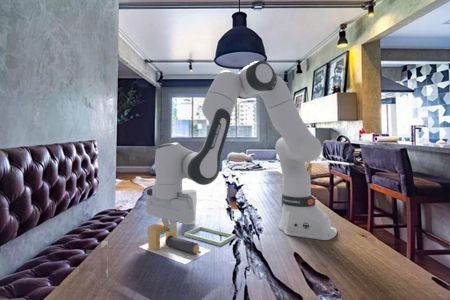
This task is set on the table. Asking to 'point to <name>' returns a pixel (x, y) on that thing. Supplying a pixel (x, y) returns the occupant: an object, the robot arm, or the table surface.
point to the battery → (182, 244)
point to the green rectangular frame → (229, 235)
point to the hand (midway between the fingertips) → (169, 232)
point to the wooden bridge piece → (158, 235)
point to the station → (175, 252)
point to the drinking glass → (194, 199)
